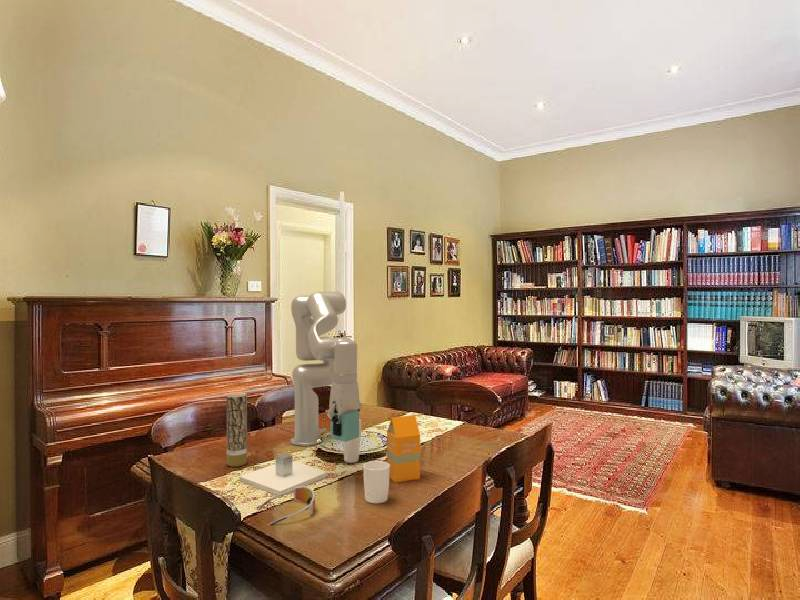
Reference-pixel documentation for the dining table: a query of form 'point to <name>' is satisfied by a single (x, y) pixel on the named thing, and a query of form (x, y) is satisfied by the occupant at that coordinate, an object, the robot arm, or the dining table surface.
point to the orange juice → (403, 449)
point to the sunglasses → (299, 495)
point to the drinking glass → (352, 448)
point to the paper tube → (236, 429)
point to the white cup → (376, 481)
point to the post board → (283, 478)
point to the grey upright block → (283, 465)
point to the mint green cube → (348, 426)
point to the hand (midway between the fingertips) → (344, 432)
